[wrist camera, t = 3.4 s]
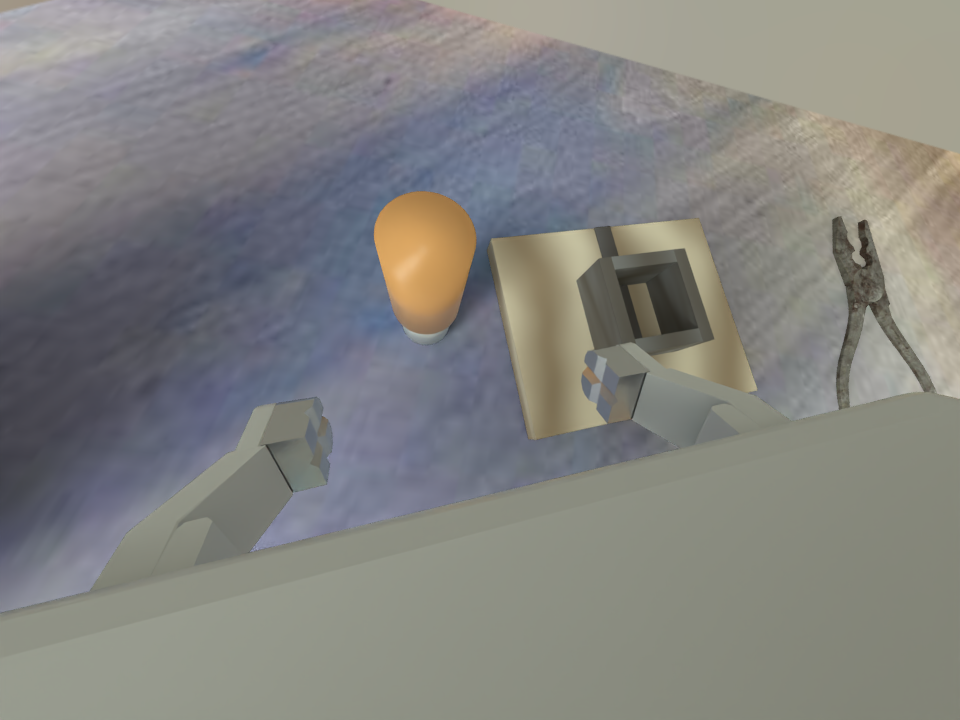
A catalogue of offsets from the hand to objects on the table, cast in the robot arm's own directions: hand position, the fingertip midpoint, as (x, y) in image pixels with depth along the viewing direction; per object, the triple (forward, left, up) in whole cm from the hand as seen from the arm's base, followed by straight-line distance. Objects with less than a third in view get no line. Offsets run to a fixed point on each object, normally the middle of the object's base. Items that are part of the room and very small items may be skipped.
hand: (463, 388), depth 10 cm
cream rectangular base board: (+13, +4, -11) cm, 17 cm away
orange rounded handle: (0, +6, -11) cm, 12 cm away
